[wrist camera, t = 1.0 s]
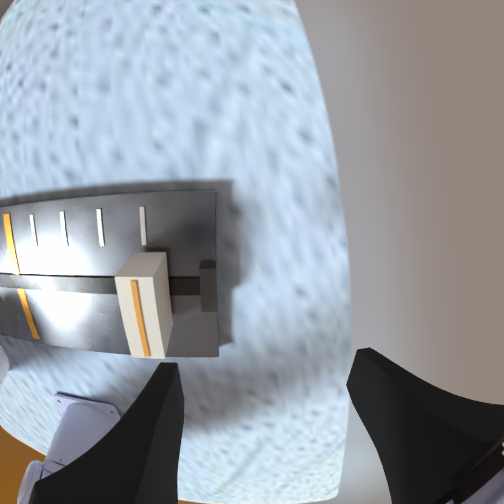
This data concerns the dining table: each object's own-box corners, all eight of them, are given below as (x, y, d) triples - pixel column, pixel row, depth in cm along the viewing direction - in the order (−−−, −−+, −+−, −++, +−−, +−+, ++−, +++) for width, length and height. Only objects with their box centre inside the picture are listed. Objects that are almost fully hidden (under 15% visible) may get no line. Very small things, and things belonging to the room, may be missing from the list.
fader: (173, 323, 17) (164, 360, 14) (144, 322, 17) (131, 358, 13) (166, 252, 16) (152, 277, 12) (135, 252, 16) (113, 277, 12)
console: (218, 347, 20) (219, 363, 19) (-3, 326, 17) (-12, 336, 16) (215, 189, 17) (215, 192, 15) (-30, 212, 14) (-43, 216, 12)
